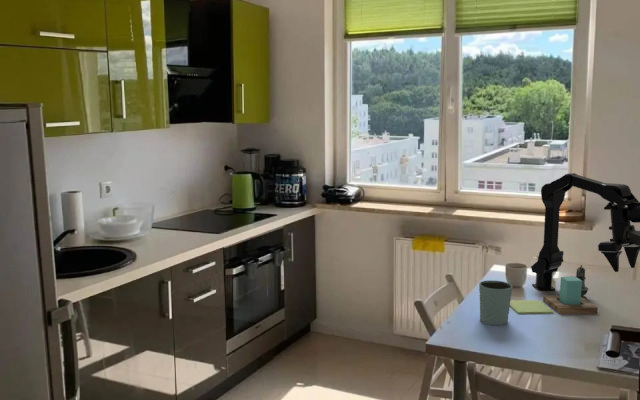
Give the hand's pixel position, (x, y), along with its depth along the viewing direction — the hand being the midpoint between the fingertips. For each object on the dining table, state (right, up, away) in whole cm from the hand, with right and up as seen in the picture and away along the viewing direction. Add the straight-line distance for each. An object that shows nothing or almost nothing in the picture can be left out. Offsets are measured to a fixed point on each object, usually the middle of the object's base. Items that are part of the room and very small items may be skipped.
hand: (624, 269), depth 209 cm
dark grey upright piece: (-8, -12, +17) cm, 22 cm away
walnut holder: (-16, -13, +6) cm, 22 cm away
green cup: (-45, -16, -7) cm, 48 cm away
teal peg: (-16, -13, +6) cm, 22 cm away
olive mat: (-30, -13, +6) cm, 33 cm away
